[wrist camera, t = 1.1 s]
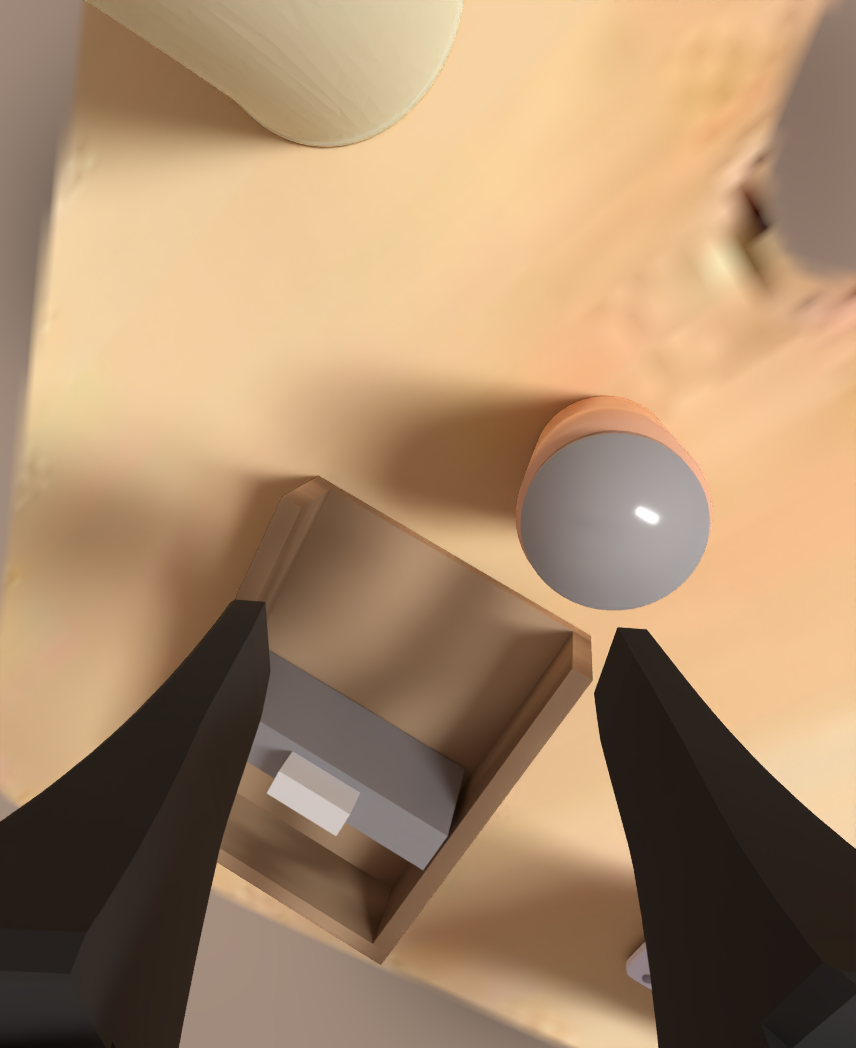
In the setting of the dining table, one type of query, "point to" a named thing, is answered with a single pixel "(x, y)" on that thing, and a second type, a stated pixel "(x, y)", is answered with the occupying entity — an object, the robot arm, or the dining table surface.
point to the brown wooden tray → (395, 698)
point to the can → (305, 57)
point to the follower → (352, 766)
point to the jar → (612, 506)
